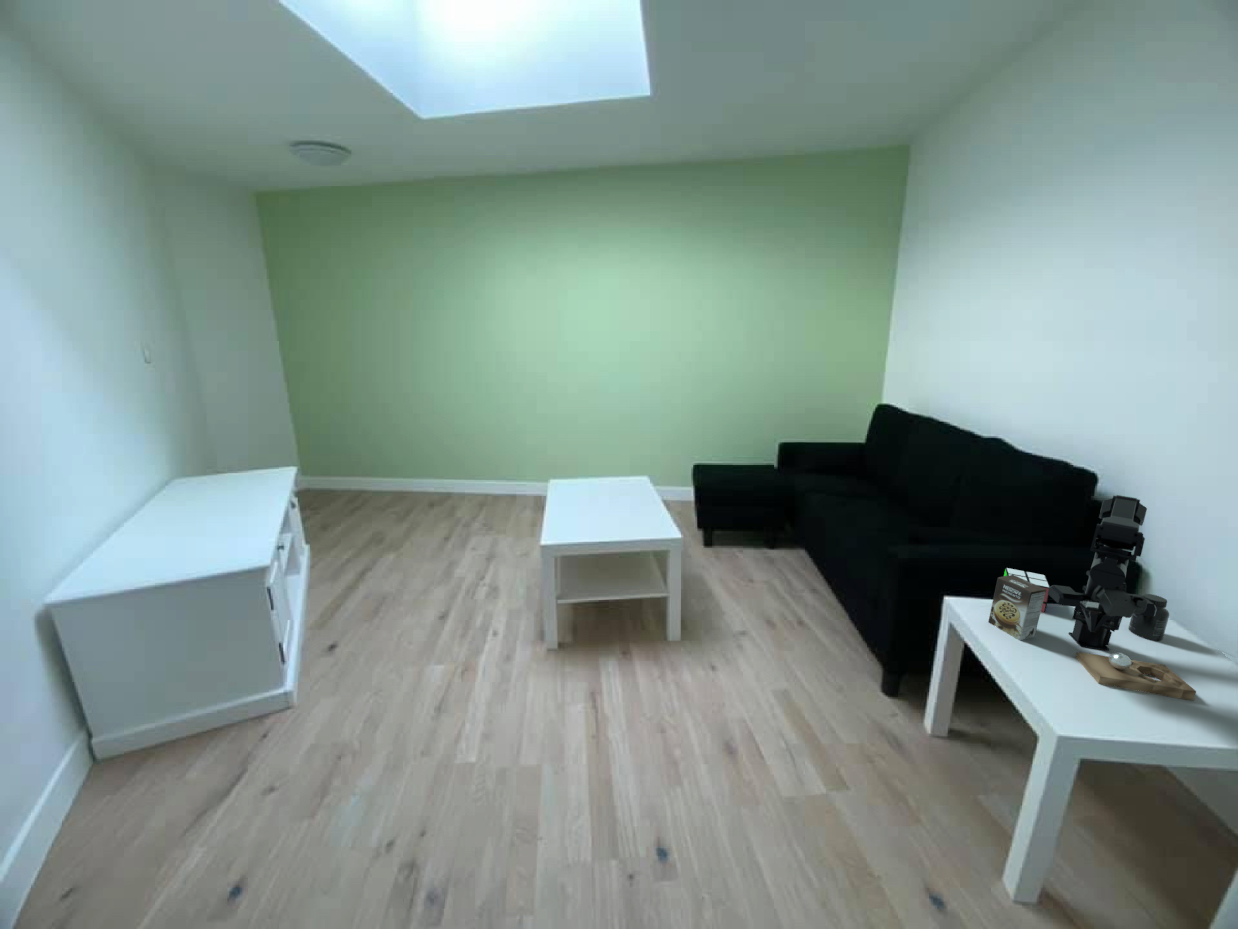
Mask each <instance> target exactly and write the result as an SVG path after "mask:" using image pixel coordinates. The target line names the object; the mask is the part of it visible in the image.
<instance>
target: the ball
mask: <svg viewBox="0 0 1238 929" xmlns="http://www.w3.org/2000/svg"><path fill="white" fill-rule="evenodd" d="M1108 657H1109V662H1110V664H1111V665H1112V666H1113V667H1115V668H1117V669H1119V670H1127V669H1129V668H1130V667H1131V665H1132V662H1131V660H1132V659H1131V658H1130V657H1129V656H1128V655H1126V654H1125V653H1124V652H1123V653H1122V652H1113V653H1110V655H1109V656H1108Z"/></svg>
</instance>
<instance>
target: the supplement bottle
mask: <svg viewBox="0 0 1238 929" xmlns="http://www.w3.org/2000/svg"><path fill="white" fill-rule="evenodd" d="M1141 595H1142V596H1143V597H1145V598H1146V599H1147V600H1149V601H1150V602H1152V603H1153V604H1154V605H1155V606H1156V609H1157V611H1156V614H1155V616H1154V617H1152V616H1144V615H1139V614H1138V613H1134V614H1133V615H1132V616H1131V618H1130V620H1129V625H1128V631H1129V632H1131V633H1132V634H1133V635H1135V636H1138V637H1139V638H1142V639H1145V640H1149V641H1153V642H1161V641H1163V639H1164V636H1165V632H1166V630H1167V624H1168V621H1169V617H1170V612H1169V611H1168V609H1167V605H1168V604H1167V603H1168V600H1167V599H1166V598H1164V597H1162V596H1159V595H1157V594H1150V593H1143V594H1141Z"/></svg>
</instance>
